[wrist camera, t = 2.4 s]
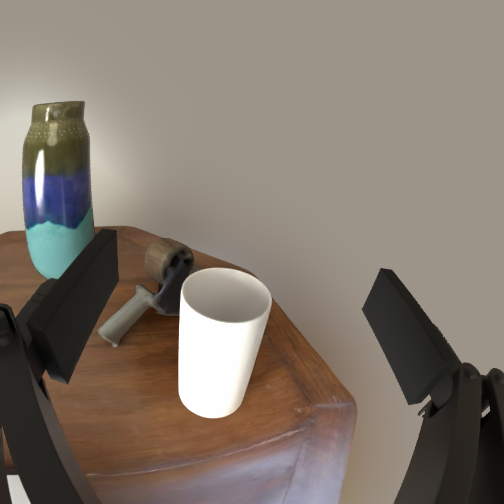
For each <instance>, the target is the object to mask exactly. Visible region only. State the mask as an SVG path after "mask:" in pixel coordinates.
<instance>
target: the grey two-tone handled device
mask: <svg viewBox="0 0 504 504" xmlns="http://www.w3.org/2000/svg"><path fill="white" fill-rule="evenodd" d="M193 263H194V257H193V253H192V251H191V250H190V248H189V247H187V246H186V245H184V244H182V243H180V242H178V241H175V240H172V239H169V238H161V239H158V240H156V241H155V242H154V243H152V244H151V245H150V246H149V248H148V250H147V253H146V256H145V262H144V265H145V270H146V273H147V275H148V276H149V277H151V278H152V279H154V280H155V281H157V282H158V283H159V286H158V292H157V294H155V293H152V292H151V291H149V290H148V289H147V288H146V287H145V286H143V285H141V284H138V285H137V286H136V292H137V293H136V294H135V296H134V297H133V298H131V299H130V300H129V301H128V302H127V303H126V304H125V305H124V306H123V307H122V308H120V309H119V310H118V311H117V312H116V313H115V314H114V315H113V316H112V317H110V318H109V319H108V320H107V321H106V322H105V323H104V324H103V325H102V326H101V327H100V328H99V329H98V333H99V335H100V337H102V338H103V339H104V340H106V341H108V342H111V343H113V346H115V347H117V346H119V342H120V340H121V338H122V337H123V336H124V334H125V333H126V332H127V331H128V330H129V329H130V328H131V327H132V325H133V324H134V323H135V322H136V321H137V320H138V319H139V318H140V317H141V316H142V314H143V313H144V312H145V311H146V310H147V309H148V308H149V307H153V308H155V309H156V310H157V311H156V313H158V314H163V315H169V316H180V301H181V289H182V285H183V283H184V281H185V280H186V278H187V277H188V276H190V275H191V274H193V273H195V272H197V271H200V270H201V269H200V268H198V267H197V266H193Z"/></svg>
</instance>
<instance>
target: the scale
mask: <svg viewBox="0 0 504 504" xmlns="http://www.w3.org/2000/svg"><path fill="white" fill-rule="evenodd" d="M6 473H7V480H8V485H9V490H10V495H11V500H12V504H31V503H30V501H29V499H28V497H27V495H26V492H25V490H24V488H23V485H22V483H21V481H20V478H19V476H18V473H17V470H16V469H6Z"/></svg>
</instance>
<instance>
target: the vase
mask: <svg viewBox="0 0 504 504" xmlns="http://www.w3.org/2000/svg"><path fill="white" fill-rule="evenodd" d="M84 107H85V102H84V101H70V102H56V103H46V104H38V105H34V106H33V110H32V121H31V126H30V129H29V131H28V133H27V136H26V138H25V141H24V145H23V158H22V188H23V189H22V191H23V210H24V222H25V232H26V239H27V245H28V250H29V254H30V257H31V260H32V263H33V265H34V266H35V268H36V269H37V270H38V272H39V273H40V274H41V275H42V276H44V277H45V278H46V279H48V280H49V279H50V278H55V279H59V278H60V276H61V275H62V274H63V273H64V271H65V270H66V269H67V268H68V267H69V265H70V264H71V263H72V262H73V261H74V259H75V258H76V257H77V256H78V255H79V254H80V253H81V251H82V250H83V249H84V248H85V247H86V246H87V245H88V243H89V242H90V241H91V240H92V239H93V238H94V237H95V230H94V220H93V208H92V194H91V175H90V137H89V133H88V131H87V128H86V125H85V122H84Z"/></svg>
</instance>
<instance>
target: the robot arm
mask: <svg viewBox="0 0 504 504" xmlns="http://www.w3.org/2000/svg"><path fill="white" fill-rule="evenodd" d="M118 281H119V273H118V257H117V231H116V230H109V229H101V230H100V231H99V232H98V234H97V235H96V236H95V237H94V238H93V239H92V240H91V241H90V242H89V243H88V245H87V246H86V247H85V248H84V249H83V250H82V251H81V253H80V254H79V255H78V256H77V257H76V258H75V259H74V261H73V262H72V263H71V264H70V265H69V267H68V268H67V269H66V270H65V271H64V273H63V274H62V275H61V276H60V278H59V279H55V278H50V279H49V280H47V281H46V282H44V283H43V284H41V286H40V287H39V288H38V289H37V291H36V292H35V294H33V296H32V297H31V298H30V301H28V302H27V303H26V305H25V306H24V307H23V309H22V310H21V311H20V313H19V314H18V315H17V317H16V318H15V316H14V314H13V311H12V308H11V307H10V306H8V305H7V304H2V303H1V304H0V504H12V500H11V495H10V490H9V485H8V480H7V473H6V467H5V459H4V450H3V438H2V426H3V430H4V434H5V437H6V441H7V444H8V447H9V450H10V453H11V456H12V459H13V462H14V465H15V468H16V470H17V473H18V476H19V478H20V481H21V483H22V485H23V488H24V490H25V492H26V495H27V497H28V499H29V501H30V503H31V504H102V503H101V501H100V500H99V498H98V497H97V495H96V493H95V492H94V490H93V489H92V487H91V485H90V484H89V482H88V480H87V478H86V477H85V475H84V473H83V471H82V469H81V467H80V466H79V464H78V462H77V460H76V458H75V456H74V454H73V452H72V450H71V448H70V446H69V443H68V441H67V439H66V437H65V435H64V432H63V430H62V428H61V425H60V423H59V420H58V418H57V415H56V413H55V410H54V408H53V405H52V402H51V399H50V397H49V394H48V391H47V388H46V385H45V382H44V380H43V378H42V375H43V373H44V371H45V369H46V370H47V372H48V374H49V376H50V378H51V379H53V380H56V381H59V382H62V383H65V384H68V383H69V381H70V378H71V376H72V374H73V371H74V369H75V367H76V364H77V362H78V360H79V358H80V356H81V353H82V351H83V349H84V347H85V345H86V343H87V341H88V339H89V336H90V334H91V332H92V330H93V328H94V326H95V324H96V322H97V320H98V318H99V316H100V314H101V312H102V311H103V309H104V307H105V305H106V303H107V301H108V299H109V297H110V295H111V294H112V292H113V290H114V288H115V286H116V285H117V283H118ZM362 311H363V313H364V315H365V316H366V318H367V320H368V322H369V324H370V326H371V328H372V330H373V332H374V333H375V336H376V338H377V340H378V342H379V344H380V346H381V348H382V350H383V352H384V354H385V356H386V358H387V360H388V362H389V364H390V366H391V368H392V370H393V372H394V374H395V376H396V379H397V381H398V383H399V385H400V387H401V389H402V391H403V394H404V396H405V398H406V400H407V403H408V405H412V404H417V403H421V402H422V401H423V400H424V399H425V398H426V397H427V396H428V395H430V396H431V400H430V401H429V402H428V403H427V404H426V405H425V406H424V407H423V408H422V409H421V410H420V411H419V413H418V415H420V414H422V413H423V412H424V411H425V414H424V415H423V416H422V417H423V418H424V419H423V423H422V426H421V430H420V433H419V437H418V440H417V444H416V447H415V450H414V453H413V456H412V459H411V462H410V464H409V467H408V470H407V473H406V475H405V478H404V480H403V483H402V485H401V488H400V490H399V492H398V495H397V497H396V499H395V502H394V504H504V373H503V372H502V371H501V370H499V369H497V368H493V369H491V370H490V372H489V373H488V374H487V375H486V376H485V375H480V373H479V371H478V370H477V369H476V368H475V367H474V366H473V365H472V364H470V363H463V364H462V363H461V361H460V360H459V358H458V357H457V355H456V354H455V352H454V351H453V349H452V348H451V346H450V345H449V343H447V340H446V339H445V337H443V335H442V333H441V332H440V331H439V329H438V327H436V326H435V325H434V324H433V323H432V322H431V320H430V319H429V318H428V316H427V315H426V313H425V312H424V311H423V309H422V308H421V307H420V305H419V304H418V303H417V301H416V300H415V299H414V297H413V296H412V295H411V293H410V292H409V291H408V289H407V288H406V287H405V286H404V284H403V283H402V282H401V281H400V279H399V278H398V277H397V275H396V274H395V273H394V272H393V271H392V270H390V269H383V268H381V269H380V271H379V273H378V276H377V278H376V280H375V282H374V285H373V287H372V289H371V291H370V293H369V295H368V298H367V300H366V302H365V304H364V306H363V308H362ZM488 406H490V412H489V413H488V414H487V415H486V416H485V417H483V418H482V414H481V413H482V412H483V411H484V410H485V409H486V408H487V407H488Z"/></svg>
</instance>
